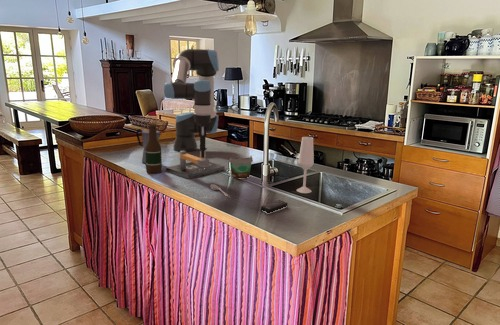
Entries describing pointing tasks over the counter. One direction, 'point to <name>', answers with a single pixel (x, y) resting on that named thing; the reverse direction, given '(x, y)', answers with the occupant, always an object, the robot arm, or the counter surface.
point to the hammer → (191, 160)
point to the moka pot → (145, 140)
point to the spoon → (217, 189)
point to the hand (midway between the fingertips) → (202, 163)
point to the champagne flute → (306, 160)
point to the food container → (240, 167)
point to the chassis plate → (194, 170)
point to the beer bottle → (153, 152)
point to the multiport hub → (274, 206)
